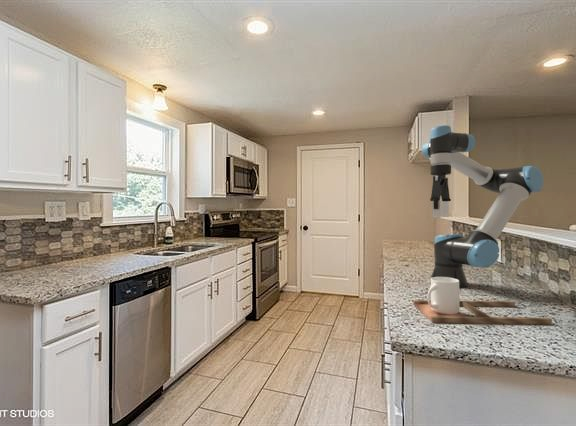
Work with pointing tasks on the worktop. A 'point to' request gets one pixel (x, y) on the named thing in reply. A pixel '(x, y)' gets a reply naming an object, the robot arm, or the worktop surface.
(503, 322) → the flat wooden frame
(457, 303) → the mug
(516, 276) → the worktop surface
